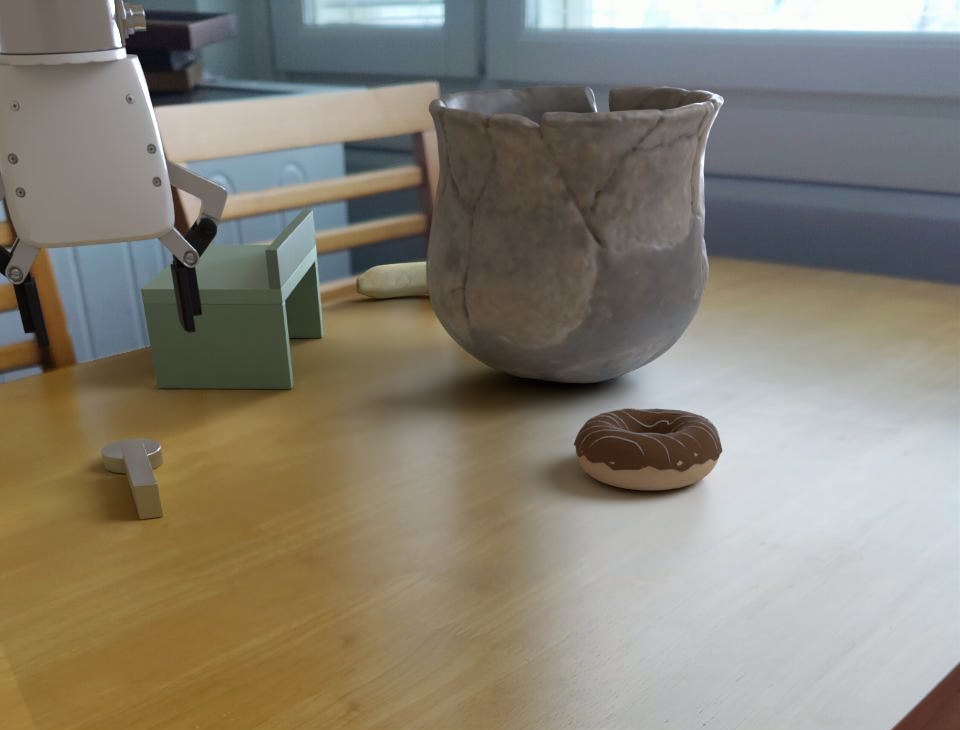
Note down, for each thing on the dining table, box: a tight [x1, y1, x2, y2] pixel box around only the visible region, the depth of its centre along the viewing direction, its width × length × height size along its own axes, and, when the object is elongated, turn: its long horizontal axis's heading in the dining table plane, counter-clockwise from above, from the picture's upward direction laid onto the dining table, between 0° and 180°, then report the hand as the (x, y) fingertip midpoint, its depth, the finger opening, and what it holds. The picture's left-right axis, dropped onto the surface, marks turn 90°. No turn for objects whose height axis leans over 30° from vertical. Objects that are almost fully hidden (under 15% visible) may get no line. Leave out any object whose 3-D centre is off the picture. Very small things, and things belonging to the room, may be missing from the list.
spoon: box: [100, 438, 164, 520], centre depth 88 cm, size 14×4×2 cm, turn 19°
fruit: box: [355, 261, 430, 299], centre depth 131 cm, size 7×15×3 cm, turn 76°
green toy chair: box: [140, 209, 325, 390], centre depth 110 cm, size 12×18×11 cm, turn 177°
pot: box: [425, 85, 725, 384], centre depth 103 cm, size 25×24×21 cm
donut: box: [572, 407, 723, 491], centre depth 88 cm, size 11×11×4 cm
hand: (116, 335), depth 82 cm, fingers open, 9 cm apart
